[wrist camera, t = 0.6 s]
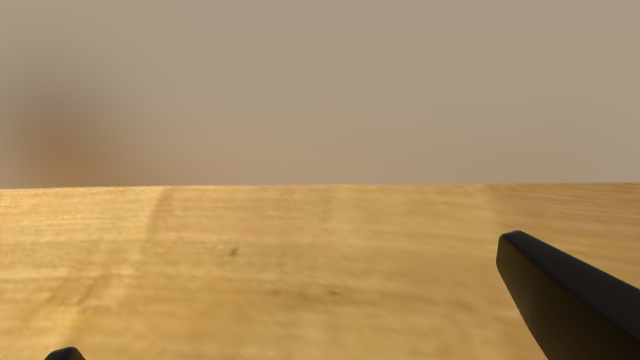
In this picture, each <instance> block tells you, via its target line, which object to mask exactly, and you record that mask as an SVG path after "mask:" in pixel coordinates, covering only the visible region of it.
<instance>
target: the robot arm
mask: <svg viewBox="0 0 640 360" xmlns="http://www.w3.org/2000/svg"><path fill="white" fill-rule="evenodd" d="M496 265H497V268H498V271H499V273H500V275H501V277H502V279H503V281H504V283H505V285H506V287H507V289H508V290H509V292H510V294H511V296H512V298H513V300H514V302H515V304H516V306H517V308H518V310H519V312H520V314H521V315H522V317H523V319H524V321H525V323H526V325H527V327H528V329H529V330H530V332H531V334H532V335H533V337H534V339H535V340H536V342H537V343H538V345H539V346H540V348H541V349H542V351H543V352H544V354H545V355H546V357H547V358H548V360H640V289H638V288H636V287H634V286H632V285H630V284H628V283H626V282H624V281H622V280H620V279H618V278H616V277H614V276H612V275H610V274H608V273H606V272H604V271H602V270H600V269H597V268H595V267H593V266H591V265H589V264H587V263H585V262H583V261H581V260H579V259H577V258H575V257H573V256H571V255H569V254H567V253H565V252H563V251H561V250H559V249H557V248H555V247H553V246H551V245H549V244H547V243H545V242H543V241H541V240H539V239H537V238H535V237H533V236H531V235H529V234H527V233H525V232H522V231H519V230H517V231H512V232H508V233H504V234H502V235H501V236H500V237H499V243H498V250H497V257H496ZM45 360H85V358H84V357H83V356H82V355H81V353H80V352H79V351H78V349H77V348H75V347H67V348H63V349H59V350H55V351H53V352H51V353H50V354H49V355H48V356H47V357H46V358H45Z"/></svg>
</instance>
